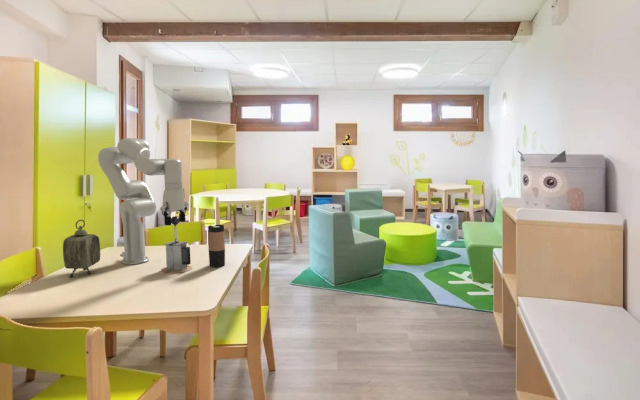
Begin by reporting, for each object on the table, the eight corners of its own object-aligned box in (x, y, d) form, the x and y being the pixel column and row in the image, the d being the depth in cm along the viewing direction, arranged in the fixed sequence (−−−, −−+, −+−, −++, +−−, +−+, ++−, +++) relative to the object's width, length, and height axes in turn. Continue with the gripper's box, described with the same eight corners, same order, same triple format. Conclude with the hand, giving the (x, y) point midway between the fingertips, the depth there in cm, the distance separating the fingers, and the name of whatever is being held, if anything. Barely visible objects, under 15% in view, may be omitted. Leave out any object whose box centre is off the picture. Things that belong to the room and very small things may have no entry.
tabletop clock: (83, 269, 195) (79, 217, 192) (102, 269, 195) (99, 217, 192) (64, 278, 180) (60, 222, 177) (85, 278, 180) (81, 222, 178)
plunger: (166, 249, 190) (165, 216, 189) (175, 246, 196) (173, 215, 194) (177, 250, 188) (175, 217, 186) (185, 247, 194) (184, 215, 192)
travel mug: (221, 269, 195) (220, 227, 193) (206, 268, 197) (204, 227, 194) (228, 265, 203) (226, 224, 200) (213, 264, 204) (212, 224, 202)
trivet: (154, 272, 189) (154, 271, 189) (175, 265, 202) (175, 263, 202) (179, 276, 184) (179, 274, 184) (198, 267, 197) (198, 266, 197)
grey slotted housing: (162, 270, 191) (161, 243, 189) (175, 265, 199) (174, 240, 197) (183, 273, 187) (182, 246, 185) (195, 268, 195) (194, 242, 193)
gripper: (179, 184, 198) (181, 220, 200) (153, 187, 182) (155, 226, 184) (192, 185, 195) (194, 220, 197) (167, 188, 179) (168, 227, 181)
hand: (175, 223), depth 191 cm, fingers open, 9 cm apart
